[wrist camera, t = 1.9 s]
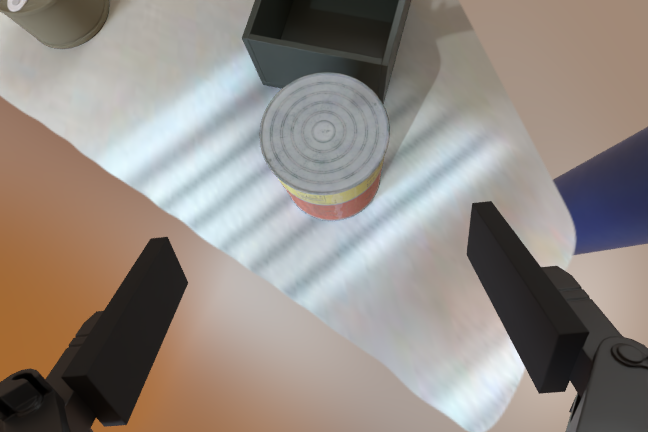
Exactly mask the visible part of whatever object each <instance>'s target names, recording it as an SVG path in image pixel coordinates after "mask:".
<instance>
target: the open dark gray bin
mask: <svg viewBox="0 0 648 432" xmlns="http://www.w3.org/2000/svg"><path fill="white" fill-rule="evenodd" d="M410 2H411V0H255V2H254V5H253V8H252V11H251V14H250V16H249V19H248V22H247V25H246V28H245V31H244V34H243V36H242V39H243V42H244V44H245V46H246V48H247V50H248V53H249V55H250V57H251V59H252V61H253V63H254V66H255V68H256V70H257V72H258V74H259V77H260V79H261V81H262V83H263V85H268V86H273V87H278V88H284V87H285V86H286V85H288V84H289V83H291V82H293V81H295V80H296V79H299V78H301V77H303V76H307V75H310V74H315V73H324V72H330V73H339V74H344V75H347V76H350V77H353V78H355V79H357V80H359V81H361V82H363V83H364V84H365V85H367V86H368V87H369V88H370V89H372V90H373V92H374V93H375V94H376V95H377V96H378V97H379V99H380V100H381V102H382V104H384V100H385V96H386V93H387V89H388V85H389V81H390V77H391V74H392V70H393V66H394V62H395V59H396V55H397V51H398V47H399V44H400V40H401V36H402V32H403V29H404V25H405V21H406V17H407V14H408V10H409V6H410Z"/></svg>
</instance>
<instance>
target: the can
mask: <svg viewBox="0 0 648 432" xmlns="http://www.w3.org/2000/svg"><path fill="white" fill-rule="evenodd" d="M0 12H2V13H4V14H5V15H7V16H8V17H9V18H11V19H12V20H13V21H14V22H16V23H17V24H18V25H20V26H21V27H22V28H24V29H25V30H26V31H27V32H29V33H30V34H31V35H33V36H34V37H36V38H37V39H38V40H39V41H40V42H42V43H43V44H45V45H47V46H49V47H52V48H57V49H66V48H72V47H75V46H78V45H81V44H83V43H85V42H86V41H88V40H89V39H91V38H92V37H93V36H94V35H95V34H96V33H97V32H98V31H99V30H100V29H101V27H102V26H103V24H104V23H105V21H106V18H107V16H108V12H109V0H0Z"/></svg>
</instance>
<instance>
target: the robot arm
mask: <svg viewBox="0 0 648 432" xmlns="http://www.w3.org/2000/svg"><path fill="white" fill-rule="evenodd" d="M467 256H468V258H469V260H470V262H471V264H472V266H473V268H474V270H475V272H476V274H477V275H478V277H479V279H480V281H481V283H482V285H483V287H484V289H485V291H486V293H487V295H488V297H489V298H490V300H491V302H492V304H493V306H494V308H495V310H496V312H497V314H498V316H499V318H500V320H501V321H502V323H503V325H504V327H505V329H506V331H507V333H508V335H509V337H510V339H511V341H512V343H513V344H514V346H515V348H516V350H517V352H518V354H519V356H520V358H521V360H522V362H523V364H524V366H525V368H526V369H527V371H528V373H529V375H530V377H531V379H532V381H533V383H534V385H535V387H536V388H537V390H538V392H539V393H551V392H565V390H566V388H567V385H568V383H569V381H571V383H572V384H573V386H574V387H575V389H576V391H577V392H578V393H577V395H576V397H575V400H574V402H573V404H572V407H571V409H570V411H569V412H571V415H570V419H569V422H568V425H567V429H566V432H648V348H647V347H645V346H644V345H642V344H641V343H639V342H637V341H634V340H632V339H629V338H625V337H623V336H622V335H621V334H620V333H619V332H618V331H617V329H616V328H615V327H614V326H613V324H612V323H611V322H610V321H609V320H608V318H607V317H606V316H605V315H604V314H603V312H602V311H601V310H600V309H599V308H598V306H597V305H596V304H595V303H594V302H593V300H592V299H590V298H589V296H588V295H587V293H586V292H585V291H584V290H582V289H581V286H580V285H579V284H578V282H577V281H576V280H575V279H574V278H573V276H572V275H570V274H569V273H567V272H566V271H564V270H563V269H561V268H559V267H558V266H550V267H540V265H539V264H538V263H537V262H536V260H535V259H534V258H533V256H532V255H531V254H530V252H529V251H528V250H527V248H526V247H525V246H524V244H523V243H522V242H521V240H520V239H519V238H518V236H517V235H516V234H515V232H514V231H513V230H512V228H511V227H510V226H509V224H508V223H507V222H506V220H505V219H504V218H503V216H502V215H501V214H500V212H499V211H498V210H497V208H496V207H495V206H494V204H493V203H492V202H491V201H489V202H480V203H472V211H471V220H470V229H469V237H468V246H467ZM187 284H188V281H187V279H186V277H185V274H184V272H183V270H182V268H181V266H180V264H179V261H178V259H177V257H176V255H175V252H174V250H173V248H172V246H171V244H170V241H169V239H168V237H163V238H153V239H150V241H149V242H148V244H147V245H146V247H145V248H144V250H143V252H142V253H141V254H140V256H139V258H138V259H137V261H136V262H135V264H134V265H133V267H132V268H131V270H130V271H129V273H128V274H127V276H126V278H125V279H124V281H123V282H122V284H121V286H120V287H119V288H118V290H117V291H116V293H115V295H114V296H113V298H112V299H111V301H110V302H109V304H108V305H107V307H106V308H105V310H104V311H98V312H96V313H94V315H92V316H91V317H90V318H89V319H88V320H87V321H86V322H84V324H83V325H82V327H81V328H80V330H79V331H78V333H77V334H76V338H73V340H72V341H71V343H70V344H69V348H67V349H66V350H65V351H64V353H63V354H62V356H61V357H60V359H59V360H58V362H57V363H56V365H55V366H54V368H53V369H52V370H51V372H50V374H49V375H48V376H47V378H46V379H44V378H43V377H42V376H41V374H40V373H39V372H38V371H37V370H34V369H25V370H21V371H19V372H16V373H14V374H12V375H10V376H9V377H7V378H6V379H4V380H3V381H1V382H0V432H93V431H92V429H91V426H92V424H93V422H94V420H95V418H97V419H98V420H99V421H100V422H101V423H102V424H103V426H118V425H127V423H128V421H129V418H130V416H131V414H132V411H133V409H134V407H135V404H136V402H137V400H138V397H139V395H140V393H141V390H142V388H143V386H144V384H145V381H146V379H147V377H148V374H149V372H150V370H151V367H152V365H153V363H154V361H155V358H156V356H157V354H158V351H159V349H160V346H161V344H162V342H163V340H164V337H165V335H166V333H167V330H168V328H169V326H170V323H171V321H172V319H173V317H174V314H175V312H176V310H177V307H178V305H179V303H180V300H181V298H182V296H183V294H184V291H185V289H186V287H187Z"/></svg>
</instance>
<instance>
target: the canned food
mask: <svg viewBox="0 0 648 432" xmlns="http://www.w3.org/2000/svg"><path fill="white" fill-rule="evenodd" d="M389 135H390V127H389V120H388V116H387V113H386V110H385V108H384V106H383V104H382V102H381V100H380V99H379V97H378V96H377V95H376V94H375V93H374V92H373V90H372V89H370V88H369V87H368V86H367V85H365V84H364V83H363V82H361V81H359V80H357V79H355V78H353V77H350V76H347V75H344V74H339V73H330V72H324V73H315V74H310V75H307V76H303V77H301V78H299V79H296V80H295V81H293V82H291V83H289V84H288V85H286V86H285V87H284V88H282V89H281V90H280V91H279V92H278V93H277V94H276V95H275V96H274V98H273V99H272V100H271V102H270V103H269V105H268V106H267V108H266V110H265V112H264V115H263V118H262V121H261V126H260V146H261V151H262V154H263V157H264V159H265V161H266V163H267V165H268V166H269V168H270V170H271V171H272V172H273V173H274V175H275V176H276V177H277V178H278V179H279V180H280V182H281V183H282V185H283V186H284V187H285V189H286V190H287V192H288V193H289V195H290V197H291V199H292V200H293V202H294V203H295V204H296V205H297V206H298V207H299V208H300V209H301V210H302V211H303V212H305V213H306V214H308V215H310V216H312V217H314V218H317V219H321V220H327V221H337V220H343V219H347V218H350V217H352V216H354V215H356V214H358V213H359V212H361V211H362V210H363V209H365V208H366V207H367V206H368V205H369V203H370V202H371V201H372V200H373V198H374V196H375V195H376V193H377V190H378V187H379V184H380V177H381V170H382V165H383V161H384V156H385V153H386V150H387V147H388V142H389Z"/></svg>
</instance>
